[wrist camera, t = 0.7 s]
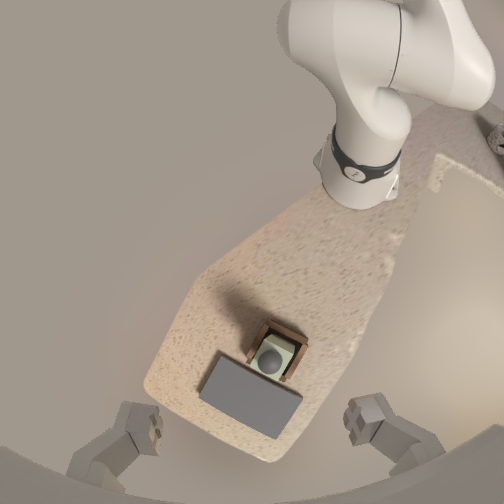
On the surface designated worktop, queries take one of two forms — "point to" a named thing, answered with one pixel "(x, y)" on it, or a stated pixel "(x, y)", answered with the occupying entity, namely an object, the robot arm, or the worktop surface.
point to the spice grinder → (273, 356)
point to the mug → (497, 139)
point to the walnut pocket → (287, 333)
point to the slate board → (250, 397)
